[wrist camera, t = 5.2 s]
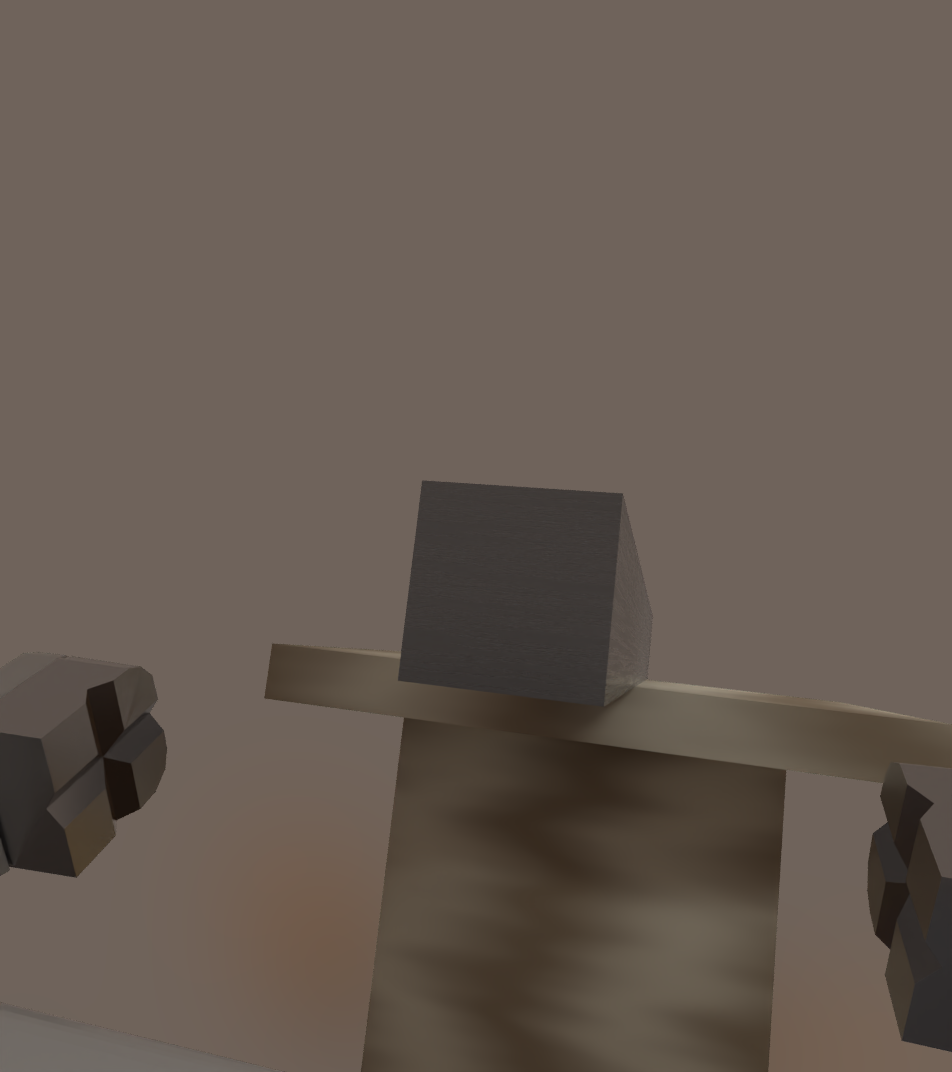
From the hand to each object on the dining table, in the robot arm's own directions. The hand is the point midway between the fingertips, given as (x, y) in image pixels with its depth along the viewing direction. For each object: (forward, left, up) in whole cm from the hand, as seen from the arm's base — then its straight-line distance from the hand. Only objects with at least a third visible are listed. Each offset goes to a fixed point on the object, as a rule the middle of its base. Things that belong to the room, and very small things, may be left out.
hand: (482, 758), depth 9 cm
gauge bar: (0, -13, +1) cm, 13 cm away
